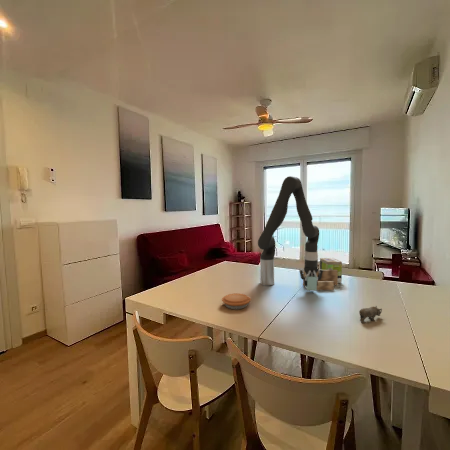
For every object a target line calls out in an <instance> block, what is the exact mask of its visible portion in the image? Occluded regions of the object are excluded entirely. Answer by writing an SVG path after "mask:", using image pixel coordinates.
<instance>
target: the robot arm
mask: <svg viewBox="0 0 450 450" xmlns="http://www.w3.org/2000/svg"><path fill="white" fill-rule="evenodd" d="M278 193H279V194H278V196H277V198H276V201H275V204H274V205H273V208H272V210H271V213H270V214H269V217H268V219H267V222H266V223H265V224H266V225H265V226H264V229H263V231H262V232H261V234H260V236H259V238H258V241H257V246H258V248H259V249H260V250H262V252H261V254H260V256H259V257H260V261H259V262H260V264H259V265H260V267H259V268H260V269H259V282H260V285H261V286H274V285H275V255H276V240H275V238H274V236H273V235H274V233H275V232H276V231H277V229H279V227H280V226H281V225H282V224H283V222H284V220H285V219H286V217H287V214H288V208H289V207H288V206H289V200H290V198H291V196H292V195H293V197H294V200H295V206H296V212H297V216H298V217H299V220H300V223H301V228H302V232H303V234H304V236H305V237H306V238H307V239H306V242H305V244H304V246H305V247H304V249H305V250H304V257H303V258H304V267H303V269H301V268H299V270H298V271H299V275H300V279H301V280H302V281H303V280H304V285H305V286H306V287H307V277H308V276H310V275H311V272H312V273H313V276H316V277H317V275H316V273H317V272H319V274H318V277H317V283H318V280H321V277H322V273H323V270H321V269H320V268H318V267H319V262H318V260H319V255H318V254H319V253H318V249H319V247H318V246H319V245H318V244H319V243H318V242H319V239H320V229H319V228H318V226H316V225H314V224H313V216H312V213H311V211H310V208H309V206H308V205H309V204H308V203H307V200H306V197H305V196H306V195H305V194H304V189H303V184H302V181H301V179H300V178H299V177H297V176H293V175H289V176H287V177H285V178H284V179H283V181H282V184H281V187H280V191H279V192H278ZM304 271H305V272H306V274H305V277H304V276H303V273H304ZM305 286H304V287H305ZM306 287H305V288H306Z"/></svg>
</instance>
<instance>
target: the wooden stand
mask: <svg viewBox="0 0 450 450" xmlns="http://www.w3.org/2000/svg"><path fill="white" fill-rule="evenodd" d="M305 274H306V272H305V271H304V273H303V276H304V277H305ZM318 274H319V272H317V273H316V275H317V277H318ZM338 285H339V283H338V270H323V273H322V277H321V280H318V283H317V290H316V291H321V290H322V291H326V290H327V291H328V290H329V291H330V290H332V291H333V290H334V289H335V288H334V287H335V286H338ZM302 286H304V287H305V285H304V280H302Z"/></svg>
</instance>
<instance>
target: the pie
mask: <svg viewBox="0 0 450 450" xmlns="http://www.w3.org/2000/svg"><path fill="white" fill-rule="evenodd" d="M251 300H252V299H251V297H250V296H248V295H246V294H244V293H238V292H237V293H229V294H227V295H225V296H222V298H221V301H222V303H223V304H224V306H225V307H226V308H227V309H229V310H242V309H245V308H247V306H248V305H249V303H250V302H251Z"/></svg>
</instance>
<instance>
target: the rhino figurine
mask: <svg viewBox="0 0 450 450" xmlns="http://www.w3.org/2000/svg"><path fill="white" fill-rule="evenodd" d="M382 312H383V308H378V306H377V305H375V306H371V307H365V308H361V309H360V310H359V316H360V317H359V318H360V319H359V320H360V321H361V324H366V321H365V320H366V319H367V318H368V319H369V320H371V321H372V322H376V320H375V317H376V316H377V317H380V316H381V314H382Z"/></svg>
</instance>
